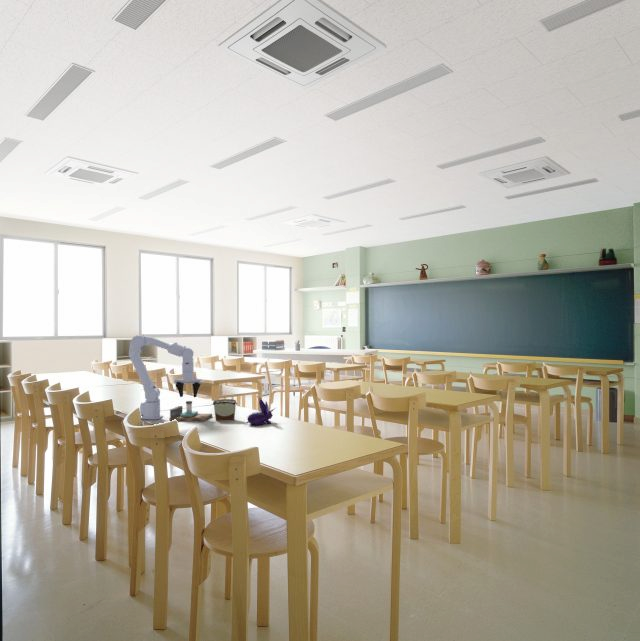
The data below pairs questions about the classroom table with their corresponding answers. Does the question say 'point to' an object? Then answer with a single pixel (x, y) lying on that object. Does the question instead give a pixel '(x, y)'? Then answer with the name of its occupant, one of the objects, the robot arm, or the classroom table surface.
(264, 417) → the creature
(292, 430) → the classroom table surface
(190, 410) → the teal plate with post
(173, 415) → the bench base
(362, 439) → the classroom table surface
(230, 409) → the food container
